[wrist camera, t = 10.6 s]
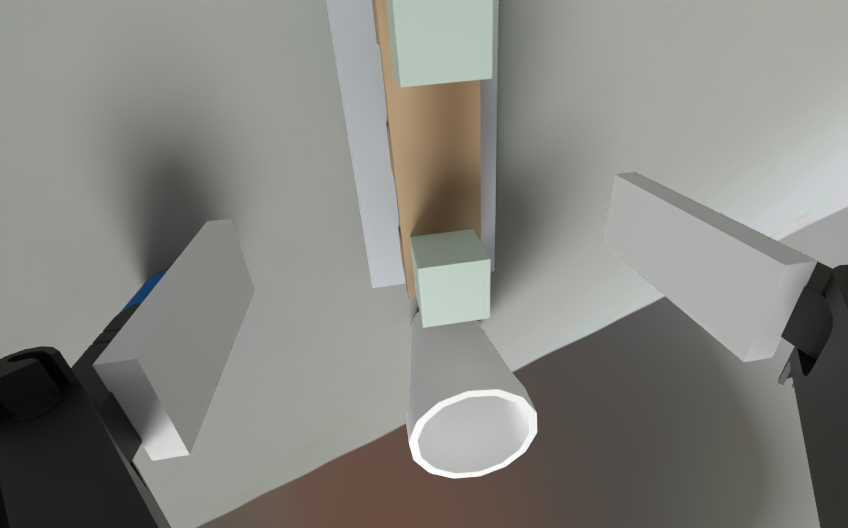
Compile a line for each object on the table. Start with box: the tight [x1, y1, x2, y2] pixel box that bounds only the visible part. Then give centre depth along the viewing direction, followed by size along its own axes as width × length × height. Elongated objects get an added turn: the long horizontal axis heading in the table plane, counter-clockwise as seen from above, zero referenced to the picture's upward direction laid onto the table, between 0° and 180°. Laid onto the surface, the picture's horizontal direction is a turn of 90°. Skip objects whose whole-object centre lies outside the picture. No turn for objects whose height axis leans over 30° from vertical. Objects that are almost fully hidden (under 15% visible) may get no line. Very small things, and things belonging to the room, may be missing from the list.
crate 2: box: [410, 229, 490, 328], centre depth 25 cm, size 4×4×4 cm
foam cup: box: [406, 311, 537, 478], centre depth 35 cm, size 10×9×13 cm
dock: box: [326, 0, 499, 288], centre depth 29 cm, size 10×22×4 cm, turn 4°
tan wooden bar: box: [372, 0, 481, 298], centre depth 25 cm, size 5×18×5 cm, turn 4°
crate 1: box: [386, 0, 493, 87], centre depth 18 cm, size 4×4×4 cm
